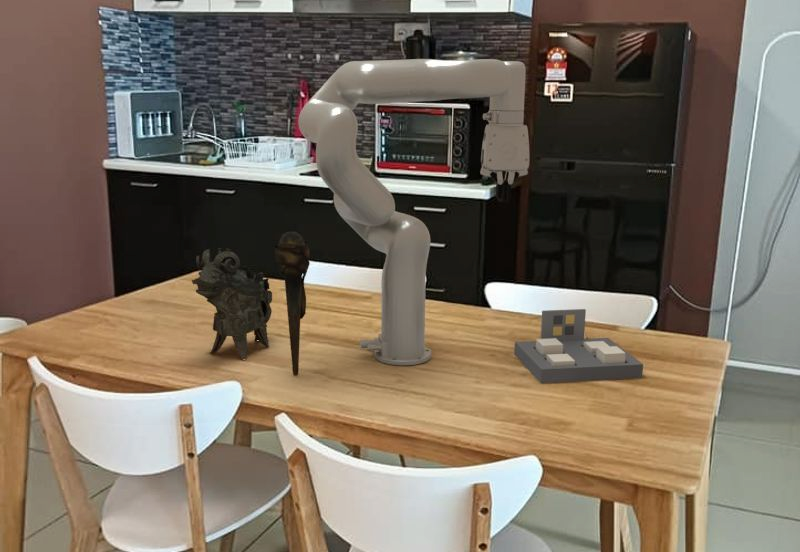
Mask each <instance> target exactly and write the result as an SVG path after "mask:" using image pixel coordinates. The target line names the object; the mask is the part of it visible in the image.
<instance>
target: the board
mask: <svg viewBox="0 0 800 552" xmlns="http://www.w3.org/2000/svg"><path fill="white" fill-rule="evenodd" d="M593 341H604V342H605V343H606V344H608V345H609V346H617V347H618V348H620V349H621V350H622V351H624V352H625V353H626V355H625V363H616V364H603V363H601V362H600V361H599V360H598V359H597V358H596V353H589V352H588V351H587V350H586V349H585V348H583V345H584V342H593ZM559 342H561V343H562V344H563V354H568V355H569V356H570V357H571V358H572V359H574V360H575V366H556V367H552V366H551V365H550V364H549V363H548V362H547V361H546V357H547V355H540V354H539V353H538V352H537V351H536V340H524V341H514V348H513V349H514V353H513V354H514V356H515V357H516V358H517V360H519V362H520V363H521V364H522V365H523V366H524V367H525V368H526V369H527V370H528V371H529V372H530V373H531V375H533V376H534V377H535V379H536V380H537V381H538V382H539V383H540V384H554V383H571V382H572V383H573V382H574V383H575V382H590V381H591V382H592V381H607V380H608V381H612V380H627V379H628V380H630V379H643V375H644V374H643V373H644V364H643V363H642V362H641V361H639V360H638V359H637V358H636V357H634V355H632V354H631V353H629V352H628V351H627V350H625V349H624V348H622V347H621V346H619V344H617V343H615V341H613V340H612V339H610V338H609V337H594V338H593V337H592V338H591V337H590V338H589V337H588V338H584V340H562V341H559Z"/></svg>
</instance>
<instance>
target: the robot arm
mask: <svg viewBox="0 0 800 552" xmlns="http://www.w3.org/2000/svg"><path fill="white" fill-rule="evenodd" d="M525 65H526V64H525V63H524V62H522V61H516V60H499V59H494V58H484V59H483V58H481V59H468V60H447V59H446V60H445V59H433V58H415V59H414V58H413V59H411V58H410V59H388V60H381V59H380V60H354V61H348V62H346V63H344V64H342V65H341V66H340V67H339V68H337V69H336V70H335V71H334V73H333V74H332V75H331V76H330V77H329V78H328V79H327V80H326V81H325V82H324V83H323V85H322V86H321V87H320V88H319V89H318V90H317V91H316V92H315V94H314V95H313V96H312V97H311V98H310V99H309V100H308V101H307V102H306V103H305V105H304V106H303V108H301V111H300V113H299V116H298V121H297V122H298V128H299V131H300V133H301V135H302V136H303V138H305V139H306V140H307V141H309V142H311V143H314V144H316V148H315V161H316V169H317V172H318V174H319V176H320V178H321V179H322V181H323V183H324V184H325V185H326V186H327V188H329V190H330V191H332V193H333V204H334V208H335V210H336V211H337V213H338V214H339V216H340V217H341V218H342V219H343V221H344V222H346V223H347V224H348V225H349V226H350V228H352V230H354V231H355V232H356V233H357V234H358V235H359V236H360V238H362V239H363V241H365V243H367V244H368V245H369V246H370V247H372V248H373V249H375V250H376V251H378V252H381V253H384V254H385V255H386V256H385V262H384V264H383V269H382V272H381V285H380V286H381V287H380V288H381V327H380V328H381V333H379V334H377V335H378V337H374V339H360V341H359V347H360V349H366V351H368V352H369V351H370V352H371V351H373V353H374V359H375V360H377V361H379V362H380V363H383V364H387V365H391V366H414V365H421V364H422V363H426V362H428V361H429V360H431V358H432V350H431V349H430V348H428V347H427V346H425V333H426V331H425V330H426V329H425V326H426V275H427V266H428V265H427V264H428V258H429V253H430V248H431V235H430V231H429V229H428V227H427V226H426V224H425V223H424V222H423V221H422V220H421V219H419V218H417V217H415V216H412V215H410V214H407V213H402V212H399V211H396V203H395V199H394V196H393V195H392V193H391V192H390V190H389V189H388V188H387V187H386V186H385V185H384V184H383V183H382V182H381V181H380V180H379V179H378V178H377V177H376V176H375V175H374V174H373V173H372V171H370V169H369V168H368V167H367V166H366V165H365V164H364V162H363V161H362V160H361V158H360V157H359V156H358V153H357V150H356V149H357V146H356V144H357V136H358V128H359V127H358V119H357V116H356V114H355V113H354V112H353V110H354V109H355V108H356V107H357V106H358V104H364V105H365V104H366V105H379V104H380V105H381V104H392V103H393V104H395V103H413V102H414V103H415V102H416V103H417V102H433V101H434V102H435V101H442V100H454V99H455V100H456V99H474V98H489V110H488V112H486V113H482V119H483V120H484V121H485V120H486V121H487V122H488V124H485V125H486V126H485V128H484V134H483V139H482V145H481V146H482V147H481V156H480V163H481V164H480V165H481V168H480V171H479V172H480V175H482V176H485V177H488V178H491V179H492V180H493V181H494V183H495V198H496V199H497V201H498V202H500V203H504V202H505V203H509V199H510V198H511V193H512V185H513V184H514V181H516V179H518V178H519V177H523V176H526V175H528V173H529V171H528V170H529V167H530V140H529V131H528V130H529V129H528V126H527V124H525V125H524V118H525V117H524V115H525V114H524V113H525V112H524V111H525V94H526V93H525V90H526V72H527V71H526V66H525ZM503 172H505V174H504V178H503Z"/></svg>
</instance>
